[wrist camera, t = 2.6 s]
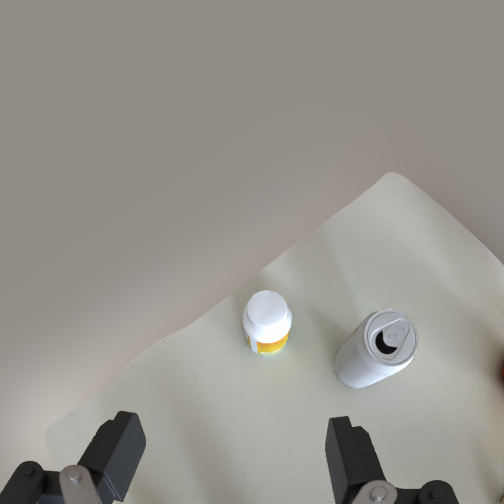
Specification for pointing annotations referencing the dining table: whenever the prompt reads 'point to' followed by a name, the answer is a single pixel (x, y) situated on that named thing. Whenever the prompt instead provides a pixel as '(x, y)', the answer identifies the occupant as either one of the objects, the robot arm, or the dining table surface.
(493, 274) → the dining table surface
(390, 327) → the beverage can
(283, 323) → the supplement bottle
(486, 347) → the dining table surface
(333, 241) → the dining table surface
